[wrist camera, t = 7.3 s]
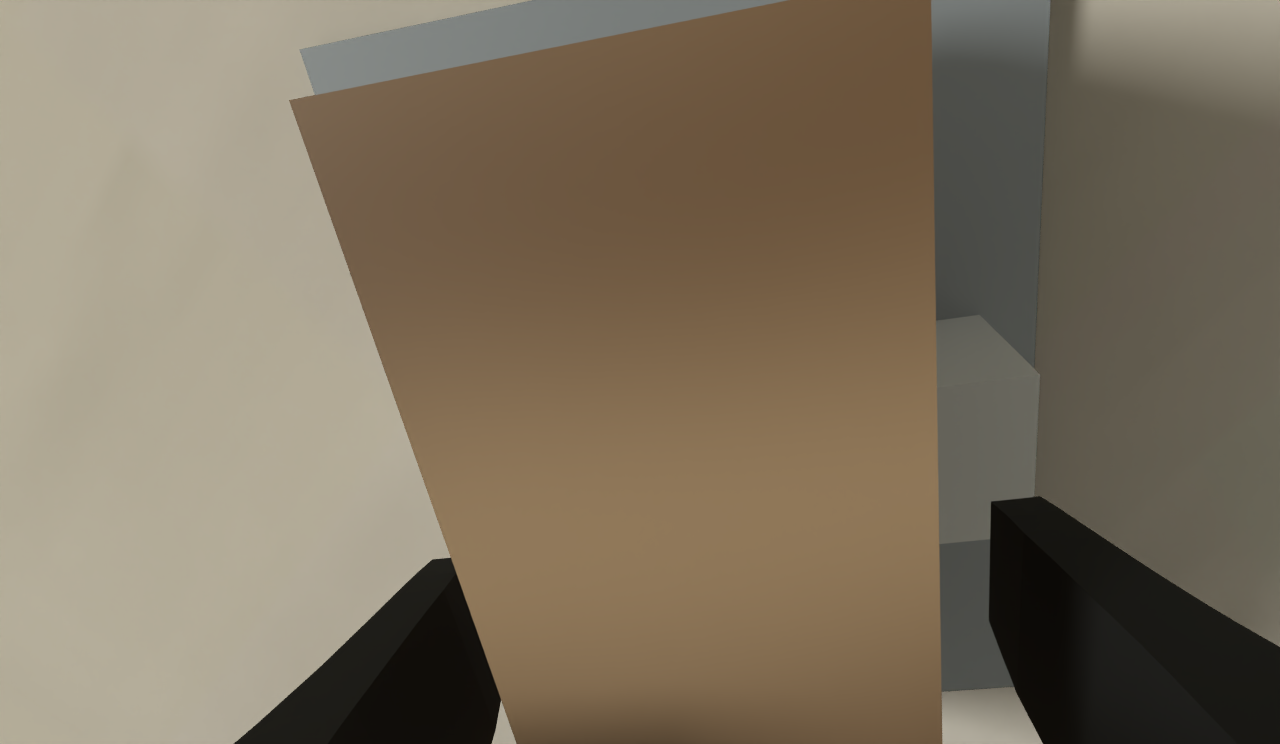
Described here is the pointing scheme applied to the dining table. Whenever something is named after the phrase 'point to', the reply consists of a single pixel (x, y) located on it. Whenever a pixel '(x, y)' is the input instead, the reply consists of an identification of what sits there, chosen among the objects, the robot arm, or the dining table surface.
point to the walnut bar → (670, 365)
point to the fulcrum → (964, 241)
